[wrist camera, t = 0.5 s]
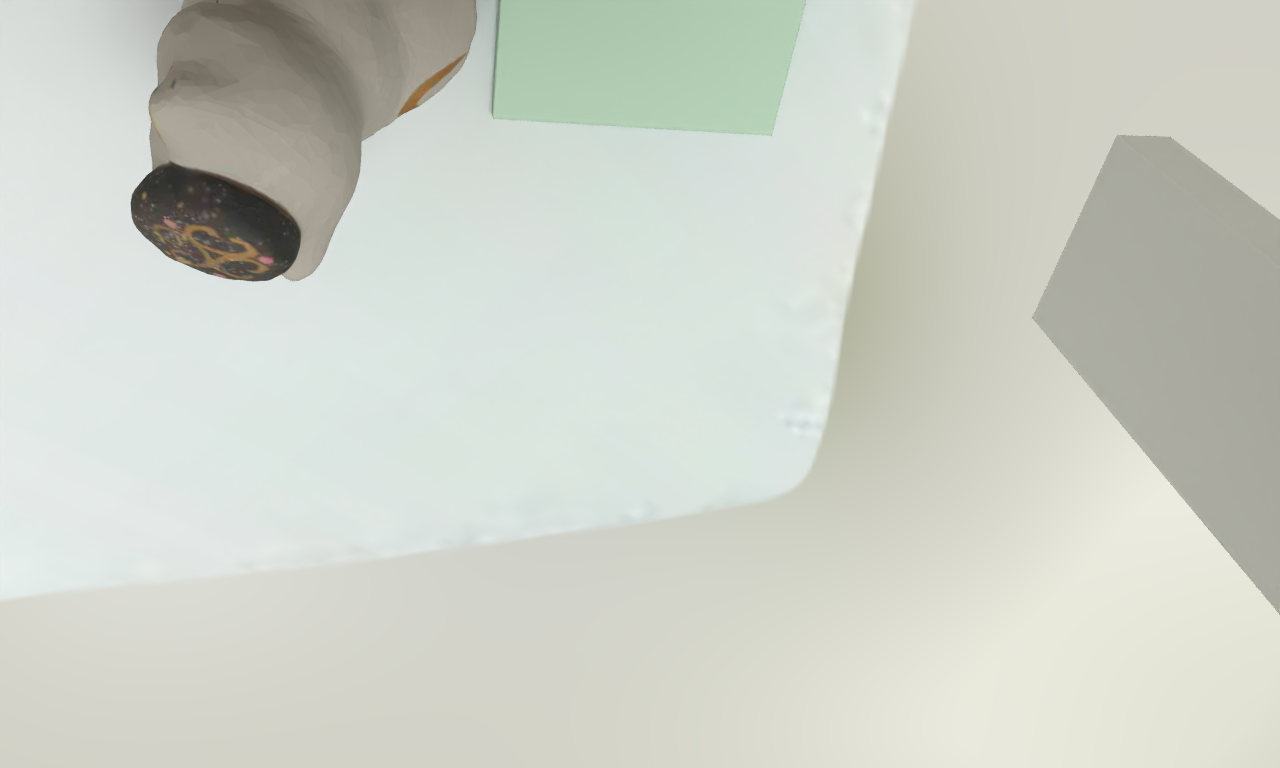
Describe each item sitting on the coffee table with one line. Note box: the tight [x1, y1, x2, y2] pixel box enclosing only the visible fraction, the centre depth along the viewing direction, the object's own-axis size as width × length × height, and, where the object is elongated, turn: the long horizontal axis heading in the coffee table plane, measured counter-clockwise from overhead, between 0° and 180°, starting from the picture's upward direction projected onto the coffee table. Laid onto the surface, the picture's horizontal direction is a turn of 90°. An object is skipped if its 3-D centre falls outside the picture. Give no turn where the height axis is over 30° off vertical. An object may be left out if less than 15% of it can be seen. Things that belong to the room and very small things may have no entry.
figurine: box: [131, 0, 477, 281], centre depth 30 cm, size 9×10×15 cm
